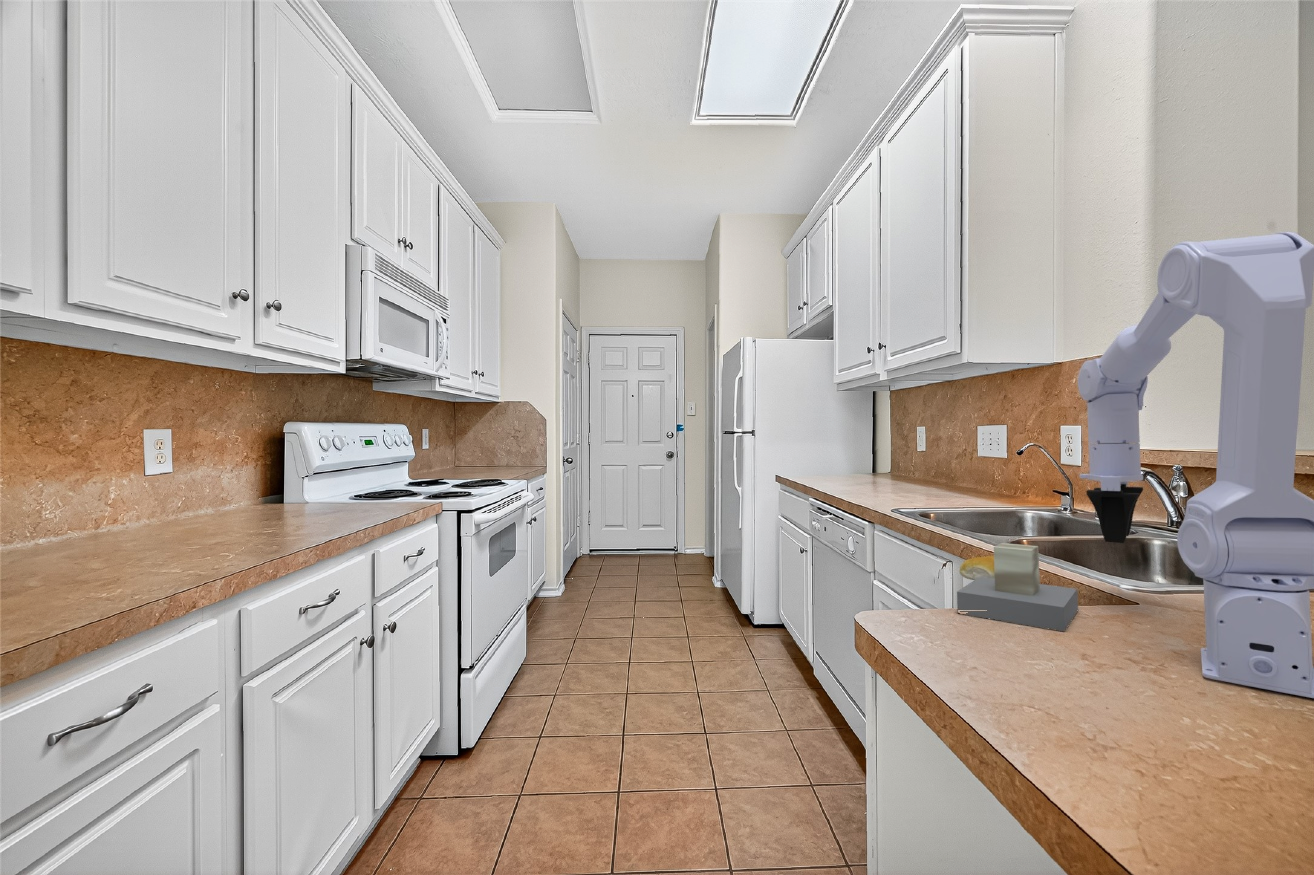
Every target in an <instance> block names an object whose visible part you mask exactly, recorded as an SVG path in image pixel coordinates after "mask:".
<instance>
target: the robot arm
mask: <svg viewBox="0 0 1314 875" xmlns="http://www.w3.org/2000/svg"><path fill="white" fill-rule="evenodd" d="M1156 281H1157V282H1156V284H1157V294H1156V295H1155V297H1154V298H1153V300H1152V302H1151V304H1150V305H1149V307H1148V308H1147V309H1146V311H1145V313H1144V314H1143V315H1142V317H1141V320H1140V321H1139V322H1138V324H1134V325H1133V324H1132V325H1130V326H1127V327H1125V328H1124V329H1123V330H1121V331H1120V332H1119V333H1118V335H1117V336H1116V337H1115V338H1114V340H1113V341H1112V342H1111V344H1110V345H1109V346H1108V347H1107V349H1106V350H1105V352H1103V354H1102V355H1101V357H1098V358H1093V359H1091V360H1090V359H1089V360H1085V361H1084V362H1083V364H1082V366H1081V367H1080V369H1079V371H1078V374H1077V376H1078V377H1077V388H1078V393H1079V396H1080V397H1081V398H1082V400H1083V401H1085V402H1086V411H1087V440H1088V467H1089V469H1088V470H1089V473H1080V474H1079V479H1083V480H1084V479H1085V480H1089V481H1096V482H1100V487H1094V488H1093V489H1087V490H1086V491H1085V493H1086V497H1088V499H1089V501H1090V502H1091V504H1092V506H1093V507H1094V510H1095V512H1096V514H1097V515H1096V516H1097V519H1098V522H1099V527H1100V530H1101V533H1102V536H1103V539H1104V542H1106V543H1118V544H1125V541H1126V540H1127V537H1129V535H1130V533H1131V528H1132V523H1133V519H1134V518H1133V517H1134V512H1135V508H1136V504H1137V501H1138V500H1139V498H1140V496H1141V494H1142V492H1143V491H1144V487H1143V486H1129V482H1141V481H1144V475H1143V474H1142V468H1141V467H1142V466H1141V465H1142V464H1141V443H1140V438H1141V437H1140V417H1139V416H1140V415H1139V412H1140V411H1142V410H1143V407H1144V397H1145V393H1146V390H1147V387H1148V383H1149V382H1148V381H1149V380H1148V379H1149V378H1148V376H1149V375H1150V373H1152V371H1153V370H1154V369H1155V368H1156V367H1157V366H1158V365H1159V364H1160V363H1161V362H1162V361H1163V360H1164V359H1165V358H1166V356H1168V354H1169V353H1170V351H1171V349H1172V342H1171V339H1170V338H1171V337H1172V336H1173V335H1175V333H1176V332H1178V331H1179V330H1180V329H1181V328H1182V327H1184V326H1185V325H1186V324H1187V323H1188V322H1189V321H1191V319H1193V317H1195V316H1196V315H1199V316H1202V317H1203V316H1204V317H1208V318H1210V319H1211V320H1212V321H1213V322H1214V323H1216V324H1217V325H1218V326H1220V327H1221V328H1222V329H1223V347H1222V362H1221V363H1222V366H1221V367H1222V368H1221V381H1220V382H1221V384H1220V403H1219V416H1218V417H1219V422H1218V436H1217V457H1216V470H1215V471H1216V473H1215V475H1216V476H1215V482H1214V483H1212V484H1211V485H1210V486H1207V488H1205V489H1203V490H1202V491H1199V492H1198V493H1196V494H1195V495H1194V496H1192V497H1190V498H1189V499H1188V500H1187V501H1186V507H1185V513H1184V518H1183V521H1182V523H1181V524H1180V527H1179V528H1178V531H1177V536H1176V537H1177V539H1176V542H1177V543H1176V544H1177V549H1178V553H1179V555H1180V558H1181V559H1182V561H1183V563H1184V564H1185V565H1186V566H1187V567H1188V569H1189V570H1190V571H1191V572H1193V574H1194V577H1197V578H1201V579H1202V580H1203V601H1204V602H1203V603H1204V622H1205V623H1204V624H1205V625H1204V626H1205V627H1204V628H1205V647H1201V648H1200V659H1201V661H1200V662H1201V670H1202V677H1204V678H1206V679H1209V680H1216V681H1221V682H1227V683H1231V684H1237V685H1242V686H1247V687H1252V688H1257V689H1263V690H1269V691H1273V692H1278V693H1284V694H1290V695H1295V696H1299V697H1304V698H1305V697H1306V698H1311V699H1314V665H1313V664H1314V661H1313V642H1312V621H1311V620H1312V619H1311V618H1312V616H1311V601H1310V600H1311V598H1310V597H1311V596H1310V595H1311V594H1310V590H1314V499H1313V498H1311V497H1309V496H1307V494H1304V493H1302V492H1301V491H1300V490H1299V489H1296V488H1295V487H1294V483H1295V481H1294V480H1295V470H1296V469H1295V468H1296V467H1295V466H1296V454H1297V453H1296V452H1297V441H1298V440H1297V438H1298V425H1299V423H1298V422H1299V409H1300V398H1301V396H1300V395H1301V384H1302V383H1301V381H1302V370H1303V368H1302V367H1303V356H1304V355H1303V352H1304V339H1305V338H1304V337H1305V325H1306V313H1307V312H1306V310H1307V309H1308V308H1310V307H1311V306H1312V303H1313V290H1314V244H1313V243H1312V242H1310V241H1308V240H1307V239H1305V238H1304V237H1302V236H1301V235H1299V234H1298V233H1296V232H1292V231H1283V232H1277V233H1275V234H1266V235H1265V234H1264V235H1256V236H1254V235H1253V236H1246V237H1245V236H1244V237H1233V238H1223V239H1215V240H1214V239H1213V240H1201V241H1192V240H1191V241H1190V240H1189V241H1186V240H1185V241H1180V242H1178V243H1176V244H1174V245H1173V246H1172V247H1171V248H1170V249H1169V250H1168V251H1167V253H1166V254H1165V255H1164V257H1163V258H1162V260H1161V262H1160V265H1159V266H1158V270H1157V280H1156Z"/></svg>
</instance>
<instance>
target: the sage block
mask: <svg viewBox="0 0 1314 875" xmlns="http://www.w3.org/2000/svg"><path fill="white" fill-rule="evenodd" d="M1039 555H1040V554H1039V546H1038V545H1029V544H1017V543H1006V542H1001V543H999V544H997V545H995V546H993V556H994V571H995V591H1001V592H1008V593H1015V594H1022V595H1029V596H1034V595H1035V594H1036V593H1037V592H1038V591H1039V590H1040V584H1041V582H1040V560H1039V559H1040V556H1039Z"/></svg>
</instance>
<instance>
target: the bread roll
mask: <svg viewBox="0 0 1314 875" xmlns="http://www.w3.org/2000/svg"><path fill="white" fill-rule="evenodd" d="M959 574H960V576H962V577H963V578H965V579H967V580H970V581H971V580H972V581H974V580H975V579H977V578H979V577H988V578H995V571H994V555H988V556H975V557H972V558H969V559H966V560H964V561H963V562H962V563H961V564H960V566H959Z"/></svg>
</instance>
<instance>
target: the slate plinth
mask: <svg viewBox="0 0 1314 875" xmlns="http://www.w3.org/2000/svg"><path fill="white" fill-rule="evenodd" d="M1078 596H1079V595H1078V588H1077V587H1076V588H1075V587H1067V586H1066V587H1065V586H1058V585H1051V584H1050V585H1049V584H1044V583H1043V584H1042V583H1040V590H1039V591H1038V592H1037V593H1036V594H1035V595H1034V596H1029V595H1022V594H1015V593H1008V592H1001V591H995V578H988V577H979V578H977V579H975V580H972V581H971V582H970V583H968V584H966V585H965V586H964V587H962V588H960V589H959V590H957V591H956V606H957V608H956V609H957V611H958V610H987V611H960V612H968V613H966V614H964V615H963V616H968V615H969V616H970V617H975V618H980V617H982V618H981V619H986V618H990V619H989V620H992V619H995V620H994V621H998V620H1002V621H1001V622H1004V621H1006V622H1005V623H1009V622H1013V623H1012V624H1015V623H1018V624H1017V625H1021V624H1022V625H1021V626H1027V625H1028V627H1033V626H1036V627H1035V628H1039V627H1041V628H1040V629H1045V628H1049V629H1048V630H1050V629H1056V630H1059V631H1058V632H1062V631H1065V630H1066V631H1067V629H1068V627H1069V626H1070V624H1071V623H1070V622H1072V621H1073V619H1074V618H1075V616H1076V615H1077V613H1078V611H1079V601H1078V600H1079V599H1078V598H1079V597H1078ZM1077 610H1078V611H1077ZM1075 614H1076V615H1075ZM1074 615H1075V616H1074ZM1073 617H1074V618H1073ZM1072 618H1073V619H1072ZM1071 620H1072V621H1071ZM1069 623H1070V624H1069ZM1068 625H1069V626H1068ZM1067 626H1068V627H1067ZM1066 628H1067V629H1066ZM1056 630H1055V631H1056ZM1066 631H1065V632H1066Z"/></svg>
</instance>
